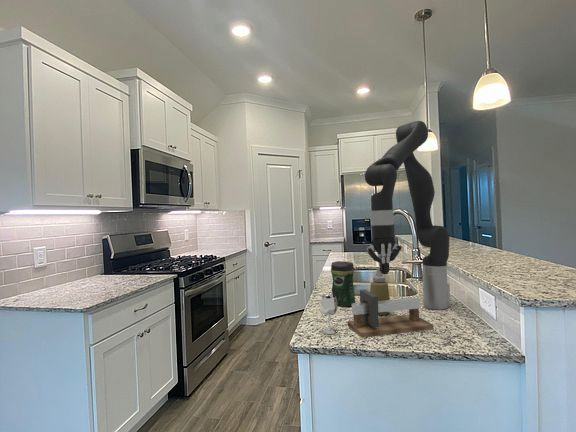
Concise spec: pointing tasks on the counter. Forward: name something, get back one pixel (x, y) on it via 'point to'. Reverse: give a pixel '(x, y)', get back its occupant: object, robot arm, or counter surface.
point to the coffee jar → (343, 282)
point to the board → (390, 324)
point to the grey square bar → (387, 305)
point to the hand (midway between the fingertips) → (384, 273)
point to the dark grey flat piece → (370, 308)
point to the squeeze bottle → (380, 288)
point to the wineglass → (329, 309)
